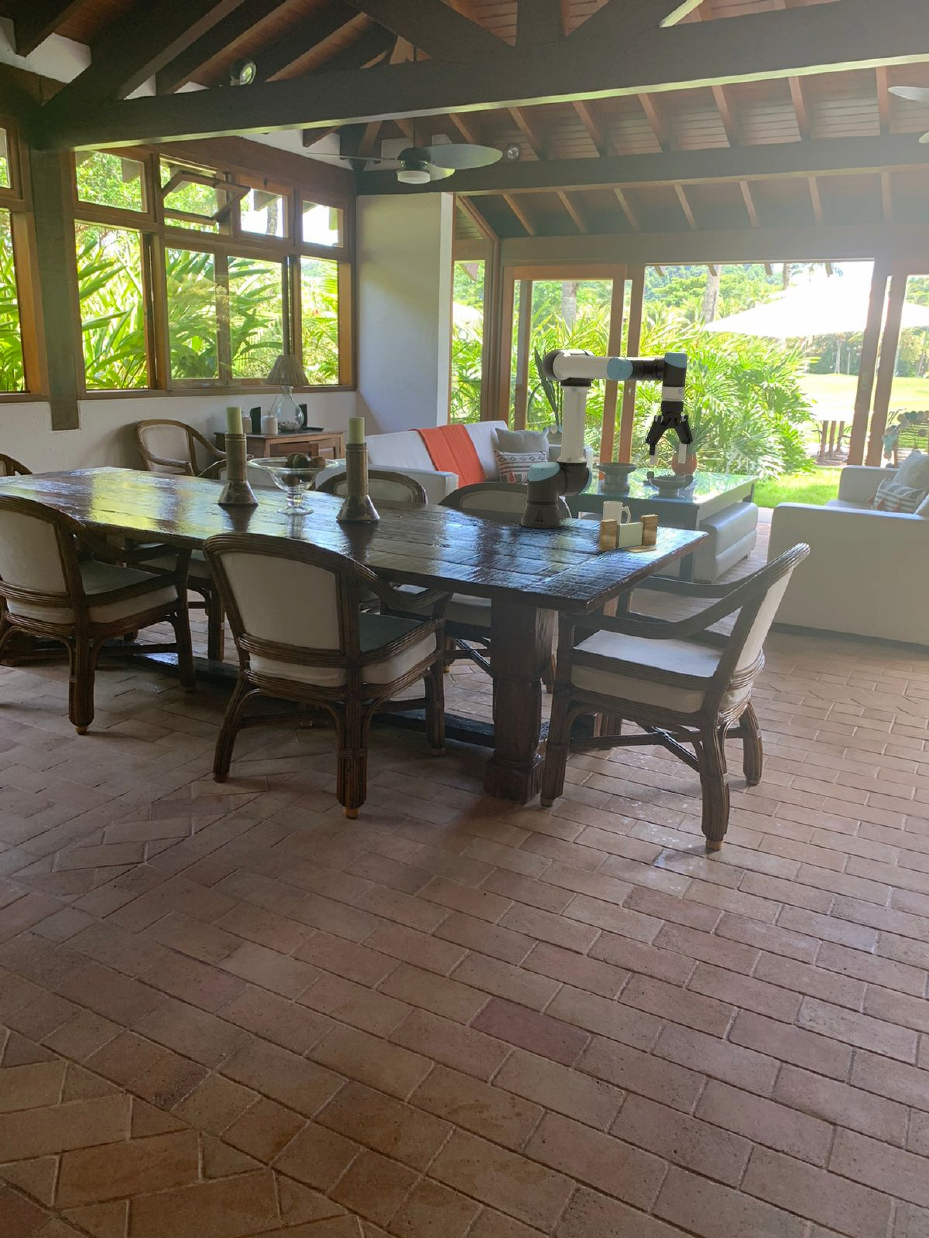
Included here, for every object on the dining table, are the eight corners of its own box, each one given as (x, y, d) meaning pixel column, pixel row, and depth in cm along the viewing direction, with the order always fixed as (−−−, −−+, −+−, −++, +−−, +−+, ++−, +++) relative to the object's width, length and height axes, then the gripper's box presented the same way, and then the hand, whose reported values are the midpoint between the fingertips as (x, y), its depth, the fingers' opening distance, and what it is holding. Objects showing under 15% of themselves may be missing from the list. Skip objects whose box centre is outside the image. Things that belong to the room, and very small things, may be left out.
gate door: (616, 548, 315) (617, 524, 313) (613, 547, 316) (615, 524, 314) (641, 544, 322) (643, 521, 320) (638, 544, 323) (640, 521, 321)
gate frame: (598, 550, 313) (600, 520, 310) (651, 542, 327) (653, 514, 324) (618, 555, 306) (620, 525, 303) (671, 547, 320) (674, 518, 317)
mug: (599, 536, 337) (602, 503, 334) (603, 533, 343) (605, 500, 340) (627, 538, 334) (630, 505, 330) (630, 535, 340) (633, 502, 337)
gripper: (653, 401, 300) (648, 467, 306) (707, 400, 314) (701, 463, 320) (637, 400, 306) (632, 464, 312) (690, 399, 320) (685, 461, 326)
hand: (667, 464), depth 316 cm, fingers open, 13 cm apart
